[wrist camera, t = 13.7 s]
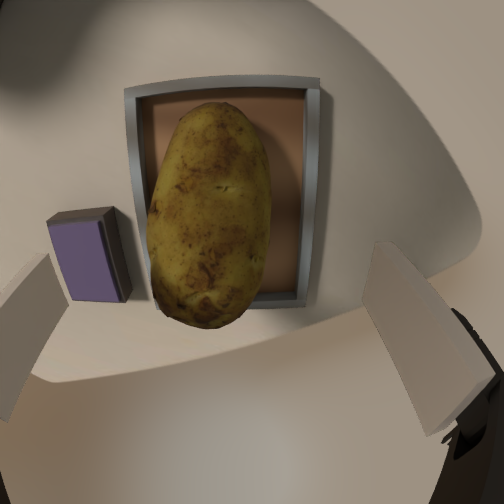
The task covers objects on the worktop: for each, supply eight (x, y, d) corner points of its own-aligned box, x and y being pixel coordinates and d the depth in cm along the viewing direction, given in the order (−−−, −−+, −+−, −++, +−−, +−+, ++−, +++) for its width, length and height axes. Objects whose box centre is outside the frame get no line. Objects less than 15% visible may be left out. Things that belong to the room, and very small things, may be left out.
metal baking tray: (133, 90, 16) (124, 88, 14) (313, 81, 16) (319, 78, 15) (161, 297, 24) (156, 309, 23) (301, 294, 24) (305, 306, 23)
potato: (312, 142, 18) (356, 162, 11) (237, 287, 23) (236, 361, 16) (199, 93, 16) (169, 78, 9) (142, 251, 21) (105, 316, 14)
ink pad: (58, 212, 20) (43, 223, 18) (113, 206, 20) (100, 217, 18) (81, 288, 24) (70, 302, 21) (132, 289, 24) (124, 305, 22)
